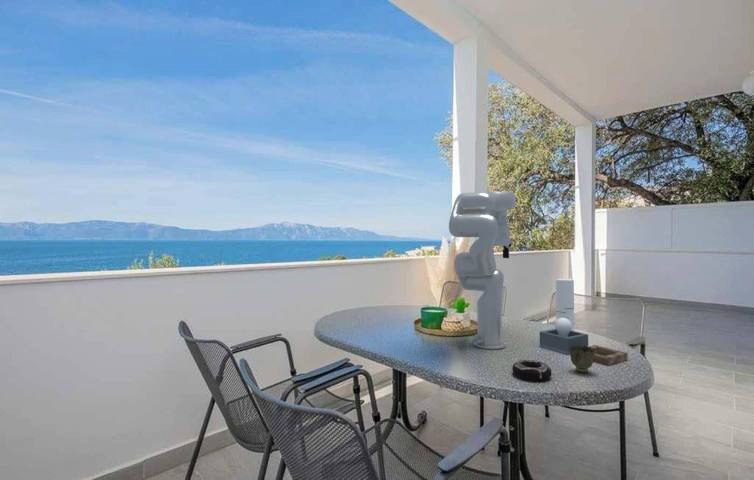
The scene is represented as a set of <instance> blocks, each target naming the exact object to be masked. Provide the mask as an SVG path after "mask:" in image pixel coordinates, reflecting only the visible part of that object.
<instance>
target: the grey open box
mask: <svg viewBox="0 0 754 480" xmlns="http://www.w3.org/2000/svg"><path fill="white" fill-rule="evenodd" d="M573 345H574V346H575V345H577V346H578V348H579V345H581V347H583V346H584V345H586V346H587V347H589V334H588V333H585V332H579V331H575V330H574V331H570V332H569V334H568V337H564V336H559V335H558V332H557V330H556V328H552V329H547V330H546V329H545V330H542V331H539V347H540V348H544V349H548V350H550V351H552V352H553V351H554V352H557V353H561V354H564V355H567V356H568V355H569V356H570V348H569V346H571V347H573Z"/></svg>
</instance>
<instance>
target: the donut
mask: <svg viewBox="0 0 754 480" xmlns="http://www.w3.org/2000/svg"><path fill="white" fill-rule="evenodd" d="M511 368H512V369H511V370H512V372H513V374H514V375H515V377H518V378H520V379H522V380H525V381H528V382H544V381H546V380H549V379H550V378H551V376H552V369H551V367H550V366H549V365H548V364H546V363H544V362H542V361H539V360H536V359H535V360H534V359H533V360H532V359H520V360H518V361H515V362H514V363H513V364H512V367H511Z"/></svg>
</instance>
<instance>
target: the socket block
mask: <svg viewBox="0 0 754 480" xmlns="http://www.w3.org/2000/svg"><path fill="white" fill-rule="evenodd" d="M588 347H591V350H593V349H595V353H594V360H593V363H597V364H600V365H603V366H608V367H609V366H612V365H616V364H620V363H622V362H625V361H628V359H629V358H628V352H625V351H621V350H617V349H612V348H609V347H608V348H607V347H603V346H600V345H596V344H594V345H590V346H589V345H588Z"/></svg>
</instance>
